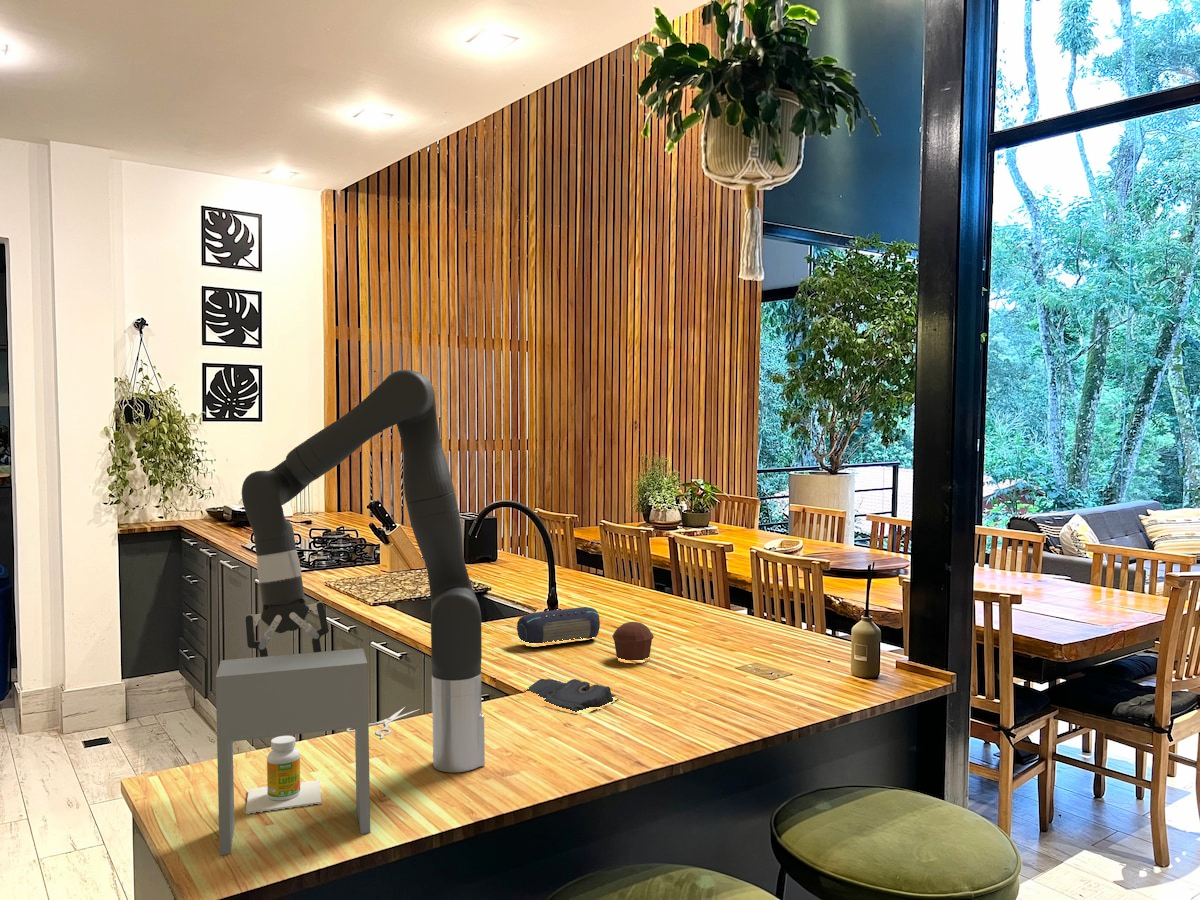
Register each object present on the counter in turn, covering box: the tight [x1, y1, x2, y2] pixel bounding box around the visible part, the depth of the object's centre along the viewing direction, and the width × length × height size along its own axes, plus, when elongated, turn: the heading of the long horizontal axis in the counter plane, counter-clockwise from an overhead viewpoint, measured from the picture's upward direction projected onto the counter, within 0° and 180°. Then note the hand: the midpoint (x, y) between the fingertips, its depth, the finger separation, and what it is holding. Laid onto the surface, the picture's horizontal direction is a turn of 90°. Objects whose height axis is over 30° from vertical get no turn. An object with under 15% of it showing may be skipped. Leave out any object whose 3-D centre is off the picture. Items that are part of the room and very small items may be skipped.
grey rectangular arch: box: [215, 647, 371, 856], centre depth 144 cm, size 22×11×27 cm, turn 109°
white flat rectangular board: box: [245, 779, 322, 815], centre depth 156 cm, size 12×10×1 cm
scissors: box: [346, 706, 420, 740], centre depth 196 cm, size 11×1×20 cm
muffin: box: [611, 621, 655, 660], centre depth 245 cm, size 12×11×10 cm
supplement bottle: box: [266, 735, 301, 800], centre depth 156 cm, size 5×5×10 cm
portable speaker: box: [516, 606, 601, 643], centre depth 264 cm, size 25×10×10 cm, turn 117°
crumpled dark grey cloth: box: [524, 678, 616, 712], centre depth 210 cm, size 15×22×5 cm
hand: (292, 663), depth 167 cm, fingers open, 8 cm apart
